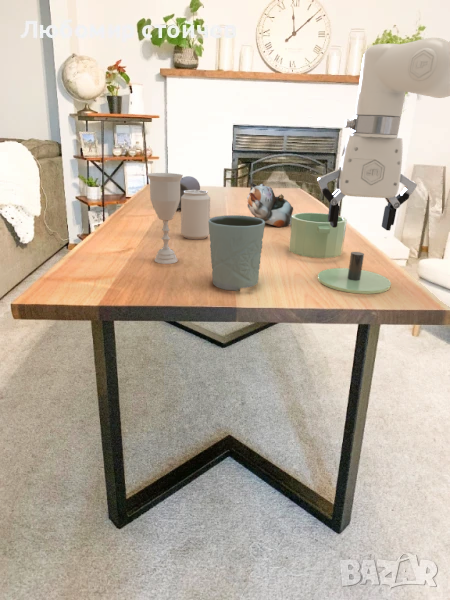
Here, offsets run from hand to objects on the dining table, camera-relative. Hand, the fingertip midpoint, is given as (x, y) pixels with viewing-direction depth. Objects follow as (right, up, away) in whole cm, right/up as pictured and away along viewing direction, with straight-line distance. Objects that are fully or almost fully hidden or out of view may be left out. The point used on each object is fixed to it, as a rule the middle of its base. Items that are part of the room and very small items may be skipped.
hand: (359, 227), depth 82 cm
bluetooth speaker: (-40, +21, +80) cm, 92 cm away
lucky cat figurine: (-11, +10, +56) cm, 58 cm away
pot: (-3, -2, +25) cm, 25 cm away
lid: (0, -10, +4) cm, 11 cm away
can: (-33, +3, +36) cm, 49 cm away
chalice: (-38, -5, +15) cm, 41 cm away
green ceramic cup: (-23, -10, +2) cm, 26 cm away
